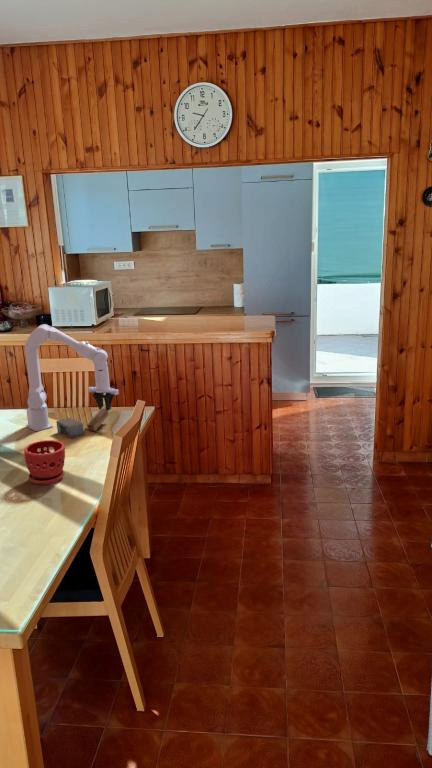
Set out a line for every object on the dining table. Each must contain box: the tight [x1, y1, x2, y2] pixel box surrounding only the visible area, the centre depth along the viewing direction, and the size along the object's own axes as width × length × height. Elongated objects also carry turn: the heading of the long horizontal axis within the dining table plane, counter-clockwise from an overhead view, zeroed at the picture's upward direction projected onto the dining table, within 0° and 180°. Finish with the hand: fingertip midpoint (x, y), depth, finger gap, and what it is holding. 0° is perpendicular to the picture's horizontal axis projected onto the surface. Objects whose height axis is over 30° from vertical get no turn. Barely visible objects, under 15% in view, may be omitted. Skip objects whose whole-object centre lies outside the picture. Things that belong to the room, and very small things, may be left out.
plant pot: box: [23, 439, 66, 485], centre depth 200 cm, size 13×13×12 cm
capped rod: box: [87, 403, 113, 432], centre depth 251 cm, size 3×14×3 cm, turn 154°
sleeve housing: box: [56, 417, 85, 439], centre depth 244 cm, size 11×6×5 cm, turn 42°
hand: (104, 409), depth 254 cm, fingers closed on capped rod, 3 cm apart
